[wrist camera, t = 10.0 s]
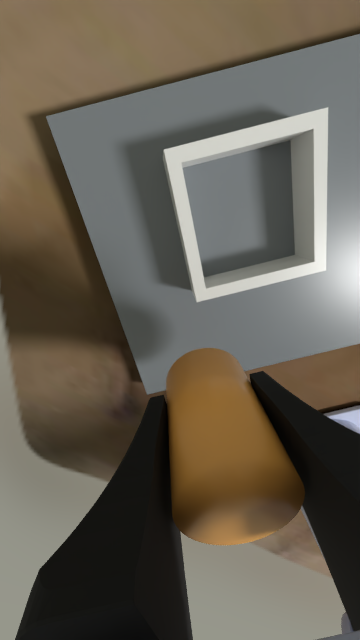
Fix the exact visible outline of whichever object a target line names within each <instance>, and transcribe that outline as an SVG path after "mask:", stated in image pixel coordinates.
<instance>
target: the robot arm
mask: <svg viewBox="0 0 360 640" xmlns="http://www.w3.org/2000/svg"><path fill="white" fill-rule="evenodd" d="M250 381H251V385H252V387H253V389H254V391H255V393H256V395H257V397H258V399H259V401H260V403H261V404H262V406H263V408H264V410H265V412H266V414H267V416H268V418H269V420H270V422H271V423H272V425H273V427H274V429H275V431H276V433H277V435H278V437H279V439H280V441H281V442H282V444H283V446H284V448H285V450H286V452H287V454H288V456H289V458H290V459H291V461H292V463H293V465H294V467H295V469H296V471H297V473H298V475H299V477H300V478H301V480H302V482H303V485H304V489H305V498H304V502H303V504H302V507H301V510H302V513H303V515H304V517H305V519H306V521H307V523H308V525H309V527H310V529H311V531H312V534H313V536H314V538H315V540H316V542H317V544H318V546H319V548H320V550H321V552H322V555H323V557H324V559H325V561H326V563H327V565H328V568H329V570H330V573H331V575H332V578H333V580H334V583H335V585H336V587H337V590H338V593H339V595H340V598H341V600H342V603H343V605H344V607H345V610H346V612H345V613H344V614H343V616H342V623H341V624H342V625H341V627H342V634H340V635H335V636H331V637H326V638H321V639H317V640H360V405H359V406H355V407H350V408H346V409H342V410H338V411H334V412H329V413H325V414H322V413H320V412H319V411H317V410H315V409H314V408H312V407H311V406H309V405H308V404H306V403H305V402H303V401H302V400H300V399H299V398H298V397H296V396H295V395H293V394H292V393H291V392H289V391H288V390H286V389H285V388H284V387H283V386H281V385H280V384H279V383H277V382H276V381H275V380H274V379H272V378H271V377H270V376H269V375H267V374H266V373H265V372H263V371H261V372H257V373H253V374H250ZM15 640H193V637H192V629H191V621H190V613H189V605H188V597H187V589H186V580H185V572H184V562H183V554H182V544H181V535H180V530H179V529H178V528H177V527H176V525H175V523H174V520H173V517H172V499H171V478H170V457H169V435H168V414H167V404H166V401H165V398H164V395H161V396H157V397H152V398H150V400H149V402H148V405H147V408H146V410H145V413H144V416H143V418H142V421H141V423H140V425H139V428H138V430H137V432H136V434H135V437H134V439H133V441H132V443H131V445H130V447H129V449H128V451H127V453H126V455H125V456H124V458H123V460H122V462H121V464H120V465H119V467H118V469H117V471H116V472H115V474H114V475H113V477H112V479H111V480H110V482H109V483H108V485H107V487H106V488H105V489H104V491H103V492H102V494H101V495H100V497H99V498H98V500H97V501H96V503H95V504H94V506H93V507H92V508H91V509H90V511H89V512H88V513H87V514H86V516H85V517H84V518H83V520H82V521H81V522H80V524H79V525H78V526H77V527H76V529H75V530H74V531H73V532H72V534H71V535H70V536H69V537H68V538H67V539H66V541H65V542H64V543H63V544H62V545H61V546H60V547H59V548H58V550H57V551H56V552H55V553H54V554H53V555H52V556H51V557H50V559H49V560H48V561H47V562H46V563H45V564H44V565H43V566H42V567H41V568H40V570H39V572H38V575H37V577H36V580H35V582H34V585H33V587H32V590H31V593H30V595H29V598H28V601H27V605H26V608H25V611H24V614H23V617H22V620H21V623H20V626H19V629H18V632H17V635H16V638H15Z"/></svg>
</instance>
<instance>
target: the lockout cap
mask: <svg viewBox="0 0 360 640" xmlns="http://www.w3.org/2000/svg"><path fill="white" fill-rule="evenodd" d="M166 393H167V414H168V435H169V457H170V478H171V499H172V517H173V520H174V523H175V525H176V527H177V528H178V529H179V530H180V531H181V532H182V533H183V534H184V535H186V536H187V537H189V538H191V539H193V540H195V541H199V542H202V543H206V544H212V545H235V544H242V543H247V542H251V541H255V540H258V539H261V538H263V537H266V536H268V535H270V534H272V533H274V532H276V531H278V530H279V529H281V528H282V527H284V526H285V525H286V524H288V523H289V522H290V521H291V520H292V519H293V518H294V517H295V516H296V514H297V513H298V512H299V510H300V509H301V507H302V504H303V502H304V498H305V489H304V485H303V482H302V480H301V478H300V477H299V475H298V473H297V471H296V469H295V467H294V465H293V463H292V461H291V459H290V458H289V456H288V454H287V452H286V450H285V448H284V446H283V444H282V442H281V441H280V439H279V437H278V435H277V433H276V431H275V429H274V427H273V425H272V423H271V422H270V420H269V418H268V416H267V414H266V412H265V410H264V408H263V406H262V404H261V403H260V401H259V399H258V397H257V395H256V393H255V391H254V389H253V387H252V385H251V384H250V382H249V380H248V378H247V376H246V374H245V372H244V370H243V368H242V366H241V365H240V363H239V361H238V360H237V359H236V358H235V357H234V356H233V355H231V354H230V353H228V352H226V351H224V350H221V349H216V348H201V349H196V350H193V351H190V352H188V353H186V354H184V355H183V356H181V357H180V358H179V359H177V360H176V361H175V362H174V364H173V365H172V366H171V368H170V370H169V372H168V374H167V378H166Z"/></svg>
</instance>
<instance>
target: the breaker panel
mask: <svg viewBox="0 0 360 640" xmlns="http://www.w3.org/2000/svg"><path fill="white" fill-rule="evenodd" d="M46 118H47V121H48V124H49V127H50V129H51V132H52V135H53V137H54V140H55V143H56V146H57V148H58V151H59V154H60V157H61V159H62V162H63V165H64V168H65V170H66V173H67V176H68V179H69V181H70V184H71V187H72V190H73V192H74V195H75V198H76V201H77V203H78V206H79V209H80V212H81V214H82V217H83V220H84V223H85V225H86V228H87V231H88V234H89V236H90V239H91V242H92V244H93V247H94V250H95V253H96V255H97V258H98V261H99V264H100V266H101V269H102V272H103V275H104V277H105V280H106V283H107V286H108V288H109V291H110V294H111V297H112V299H113V302H114V305H115V308H116V310H117V313H118V316H119V319H120V321H121V324H122V327H123V330H124V332H125V335H126V338H127V341H128V343H129V346H130V349H131V351H132V354H133V357H134V360H135V362H136V365H137V368H138V371H139V373H140V376H141V379H142V382H143V384H144V387H145V390H146V393H147V395H148V394H152V393H156V392H160V391H164V390H166V378H167V374H168V372H169V370H170V368H171V366H172V365H173V364H174V362H175V361H176V360H177V359H179V358H180V357H181V356H183V355H184V354H186V353H188V352H190V351H193V350H196V349H201V348H216V349H221V350H224V351H226V352H228V353H230V354H231V355H233V356H234V357H235V358H236V359H237V360H238V361H239V363H240V365H241V366H242V368H243V370H244V371H247V370H251V369H255V368H260V367H264V366H268V365H272V364H276V363H280V362H284V361H289V360H293V359H297V358H301V357H305V356H309V355H313V354H318V353H322V352H326V351H330V350H334V349H338V348H342V347H347V346H351V345H355V344H359V343H360V34H357V35H354V36H350V37H346V38H342V39H338V40H335V41H331V42H327V43H323V44H319V45H316V46H312V47H308V48H304V49H300V50H296V51H293V52H289V53H285V54H281V55H277V56H274V57H270V58H266V59H262V60H258V61H255V62H251V63H247V64H243V65H239V66H236V67H232V68H228V69H224V70H220V71H217V72H213V73H209V74H205V75H201V76H198V77H194V78H190V79H186V80H182V81H179V82H175V83H171V84H167V85H163V86H160V87H156V88H152V89H148V90H144V91H141V92H137V93H133V94H129V95H125V96H121V97H118V98H114V99H110V100H106V101H102V102H99V103H95V104H91V105H87V106H83V107H80V108H76V109H72V110H68V111H64V112H61V113H57V114H53V115H49V116H46Z"/></svg>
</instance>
